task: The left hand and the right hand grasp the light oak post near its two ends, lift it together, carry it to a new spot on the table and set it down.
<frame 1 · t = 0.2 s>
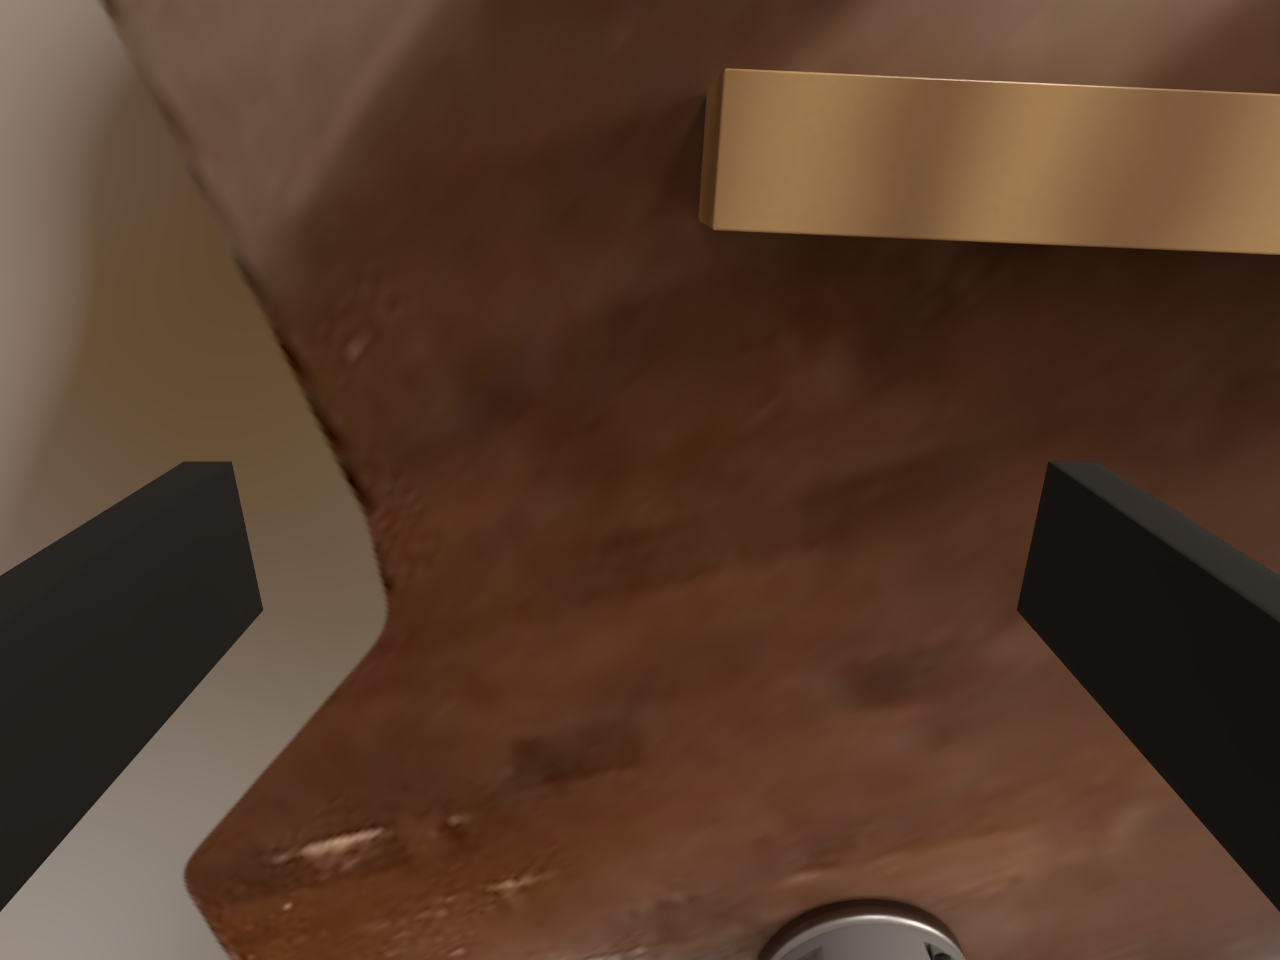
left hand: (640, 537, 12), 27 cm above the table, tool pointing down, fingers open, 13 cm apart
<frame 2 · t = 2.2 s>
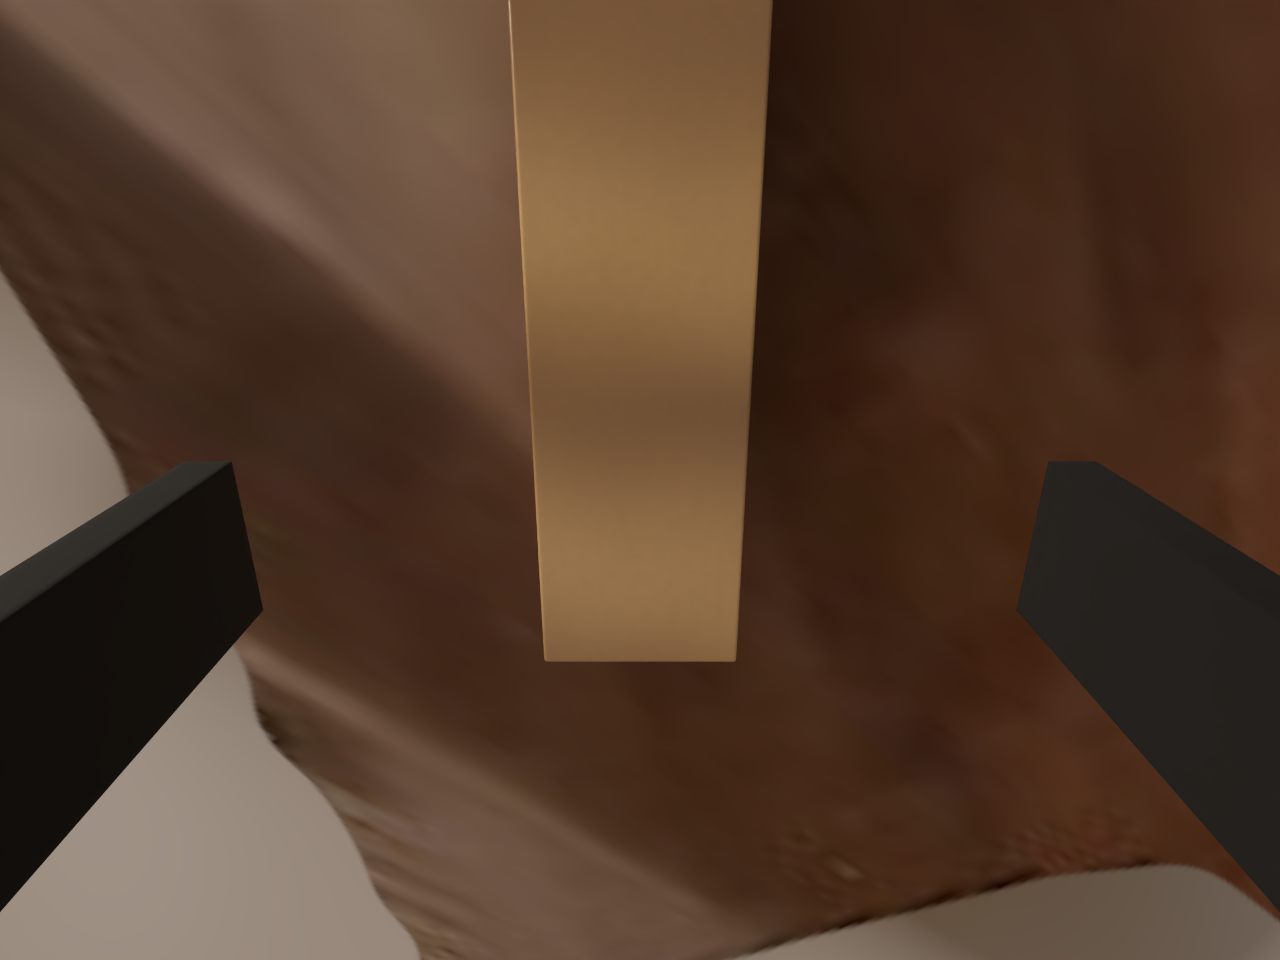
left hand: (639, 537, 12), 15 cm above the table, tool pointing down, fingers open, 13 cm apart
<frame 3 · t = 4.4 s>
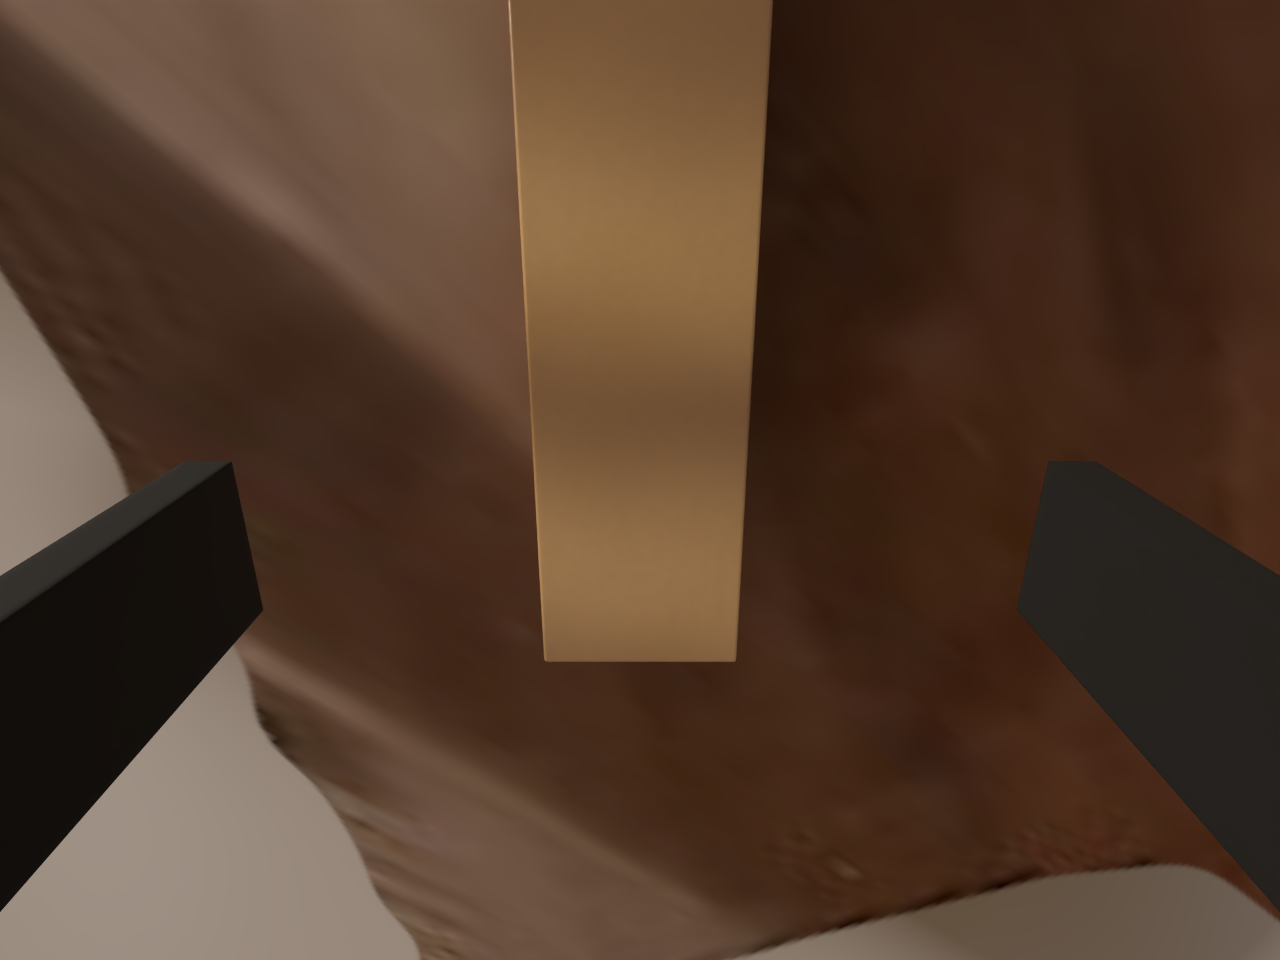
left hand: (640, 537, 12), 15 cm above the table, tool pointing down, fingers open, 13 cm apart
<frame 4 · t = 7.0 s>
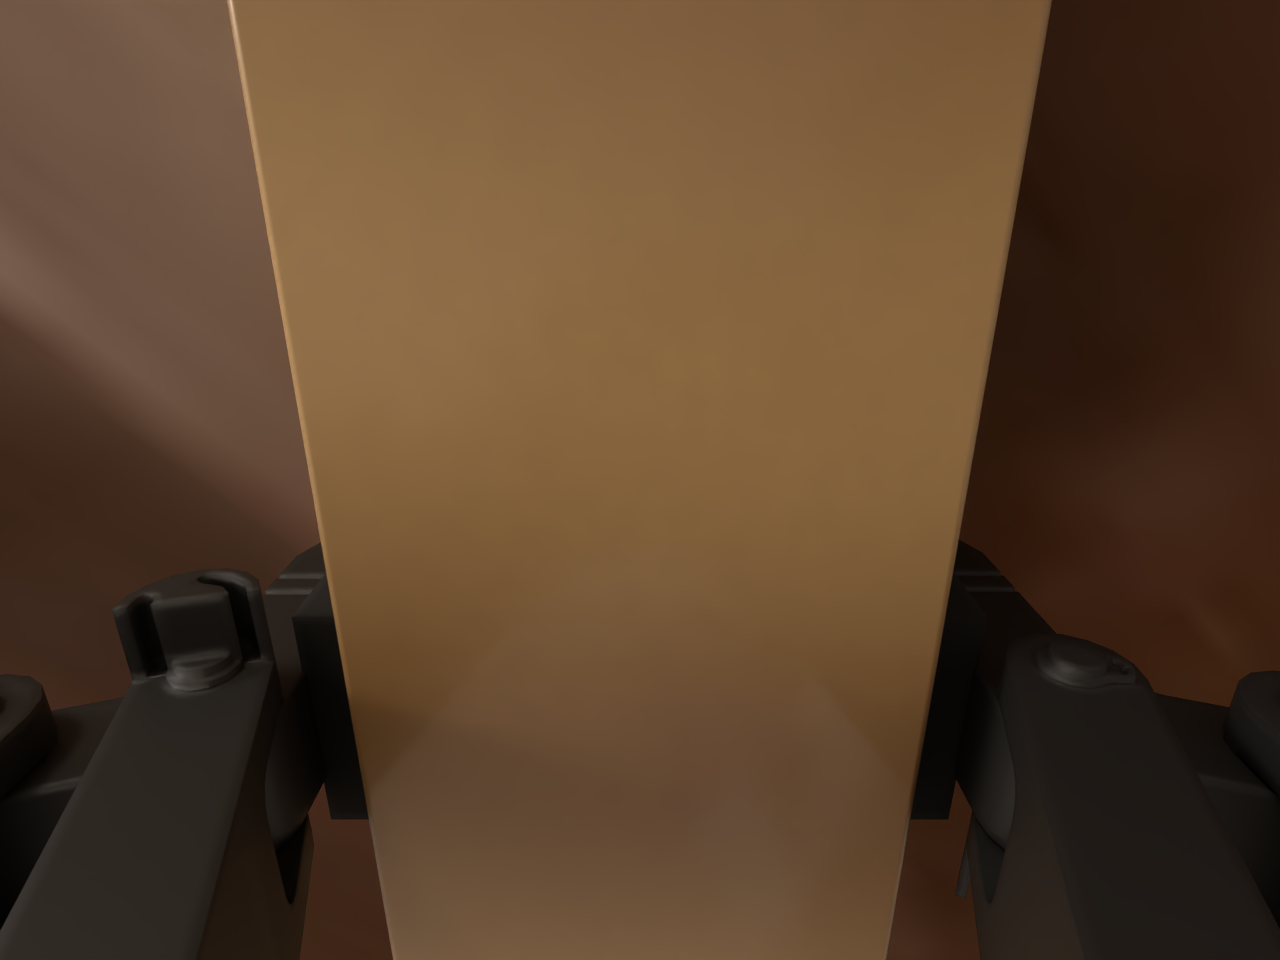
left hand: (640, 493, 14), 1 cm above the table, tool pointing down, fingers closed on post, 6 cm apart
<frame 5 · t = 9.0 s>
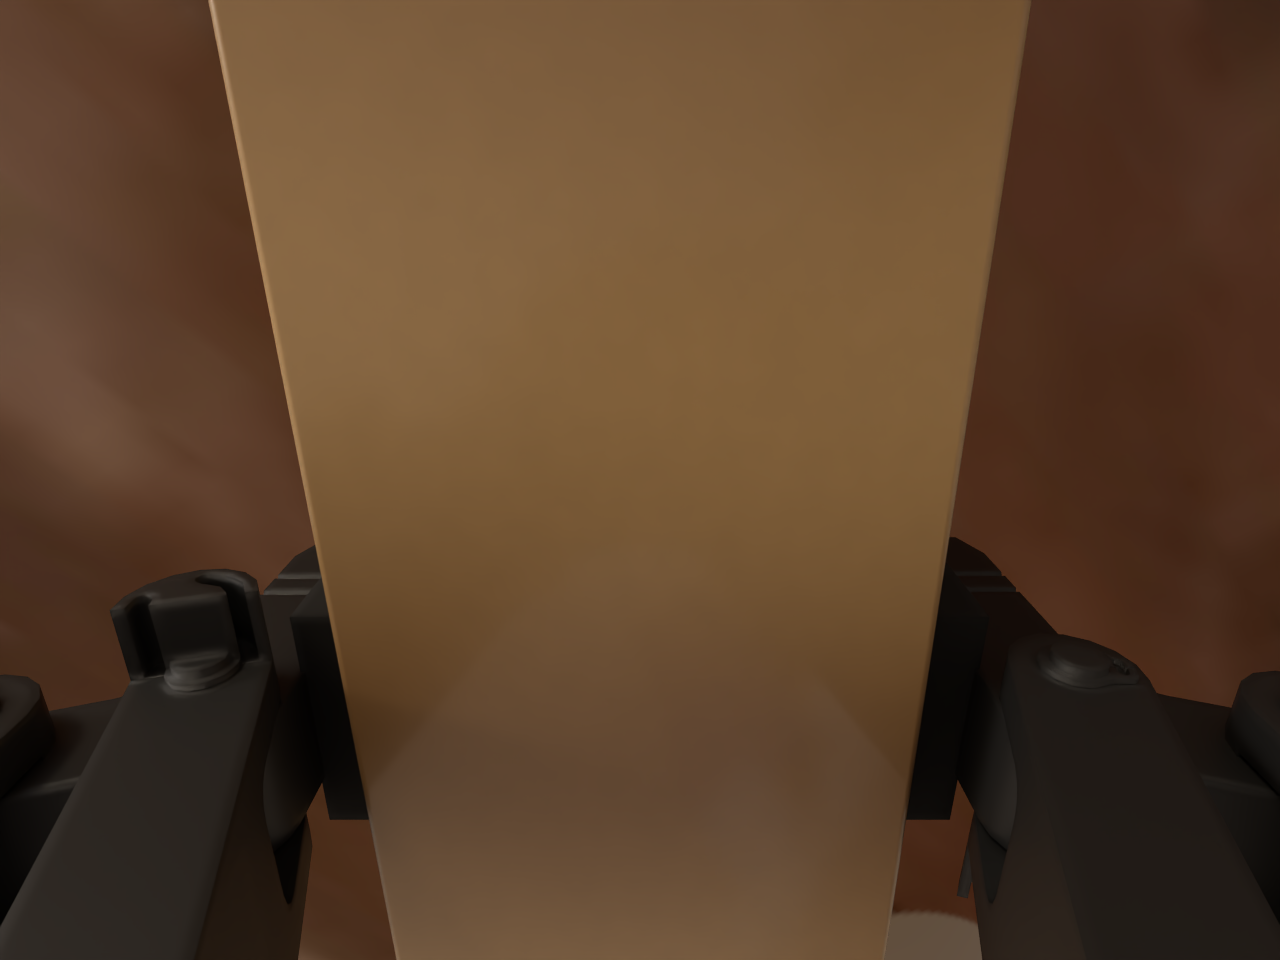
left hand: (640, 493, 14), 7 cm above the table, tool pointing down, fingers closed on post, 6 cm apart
when the left hand's fingers open (2 cm above the table, at t = 11.0 s): post drops 2 cm, on the table.
when the right hand's fingers open (4 cm above the table, at t = 11.1 s): post drops 2 cm, on the table.
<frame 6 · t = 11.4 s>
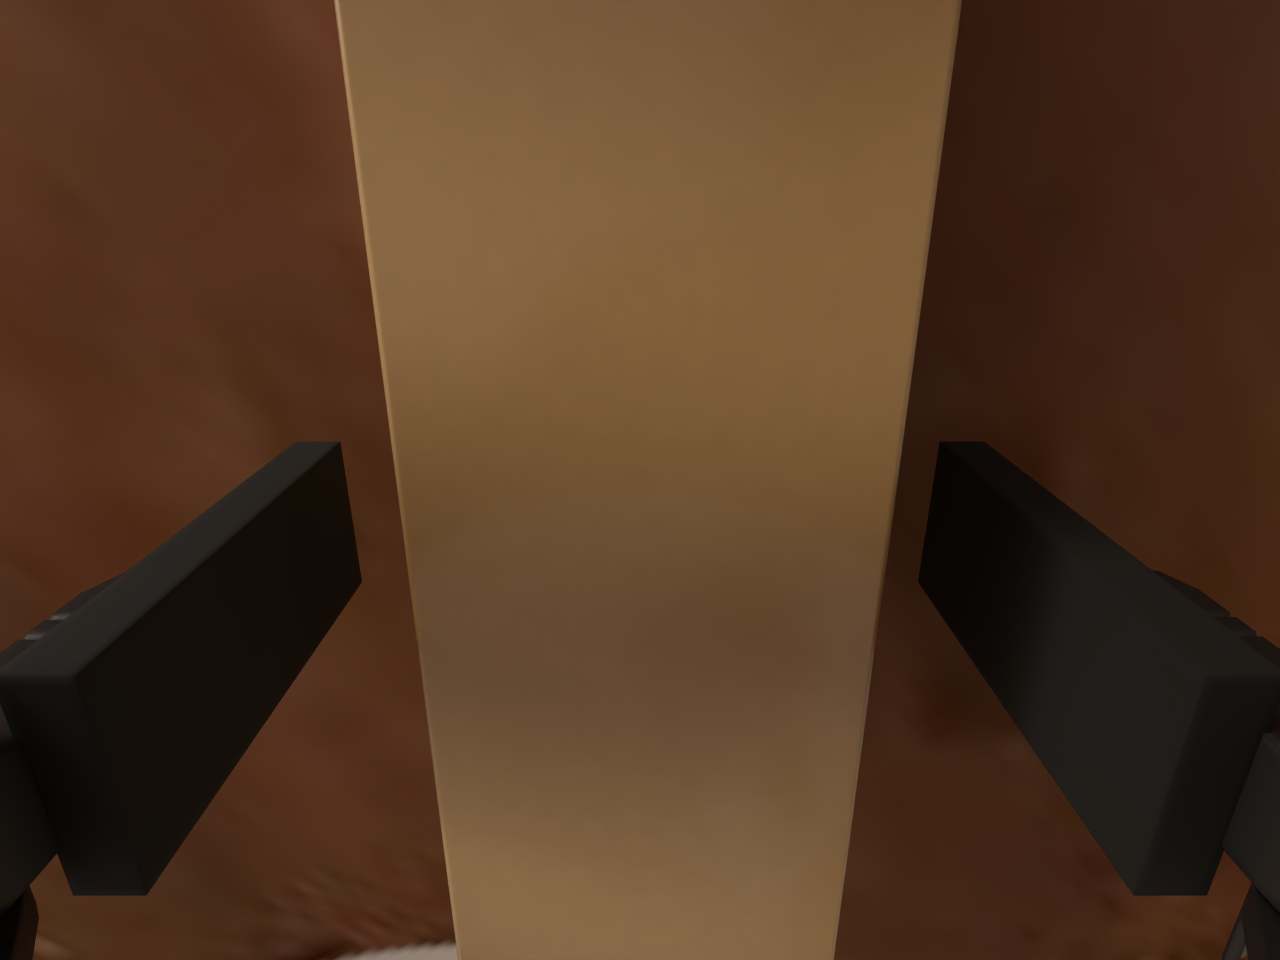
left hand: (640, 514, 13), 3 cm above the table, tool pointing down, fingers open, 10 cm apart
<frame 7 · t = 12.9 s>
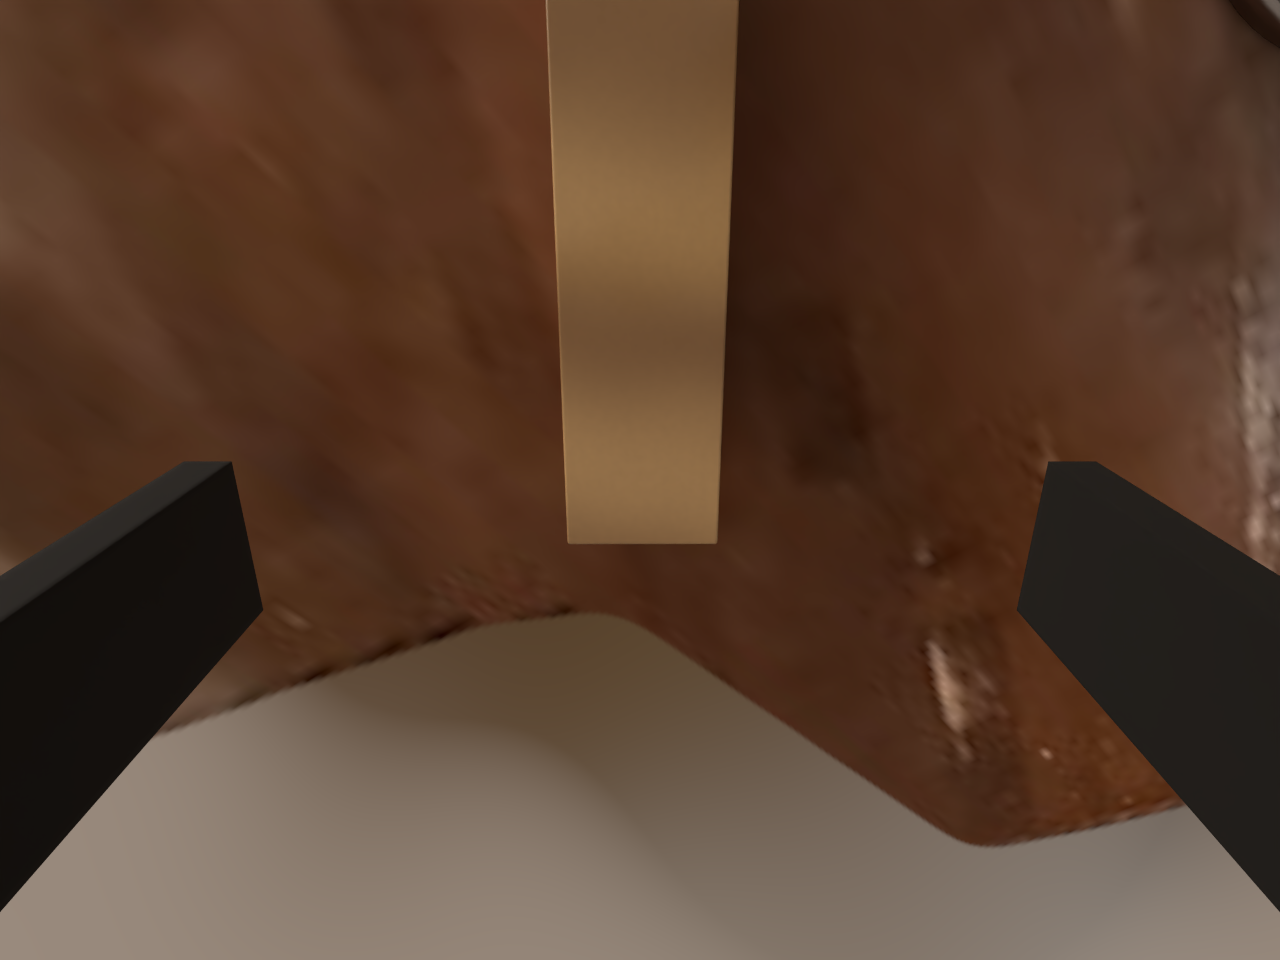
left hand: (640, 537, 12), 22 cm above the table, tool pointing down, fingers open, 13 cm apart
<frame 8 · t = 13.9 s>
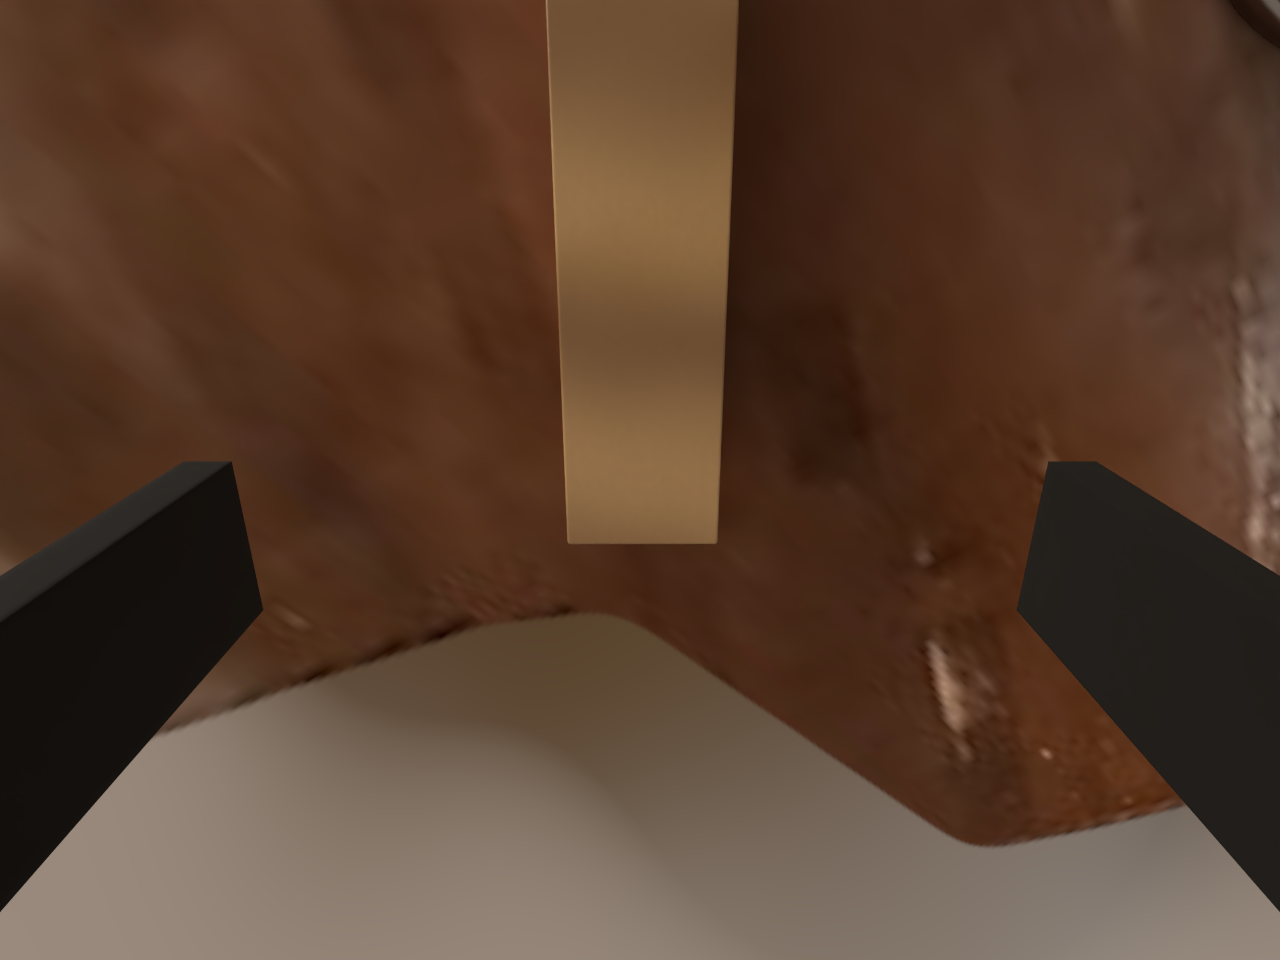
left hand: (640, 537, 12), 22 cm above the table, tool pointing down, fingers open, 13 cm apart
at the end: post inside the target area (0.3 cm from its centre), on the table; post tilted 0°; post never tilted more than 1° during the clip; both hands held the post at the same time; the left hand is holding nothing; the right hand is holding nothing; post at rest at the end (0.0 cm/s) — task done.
